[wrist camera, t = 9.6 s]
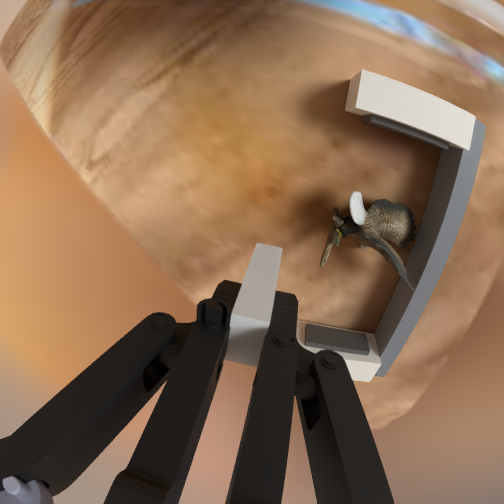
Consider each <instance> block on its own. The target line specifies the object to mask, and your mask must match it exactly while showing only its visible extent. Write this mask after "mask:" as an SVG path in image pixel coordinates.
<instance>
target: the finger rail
mask: <svg viewBox="0 0 504 504" xmlns="http://www.w3.org/2000/svg"><path fill="white" fill-rule="evenodd" d="M345 111H347V112H351V113H355V114H358V115H362V116H363V120H362V122H365V123H369V124H372V125H375V126H378V127H382V128H385V129H388V130H391V131H394V132H397V133H400V134H402V135H405V136H408V137H411V138H413V139H416V140H419V141H421V142H424V143H427V144H429V145H432V146H435V147H439V148H442V150H441V154H440V158H439V163H438V167H437V171H436V174H435V178H434V182H433V185H432V189H431V192H430V196H429V199H428V202H427V206H426V209H425V212H424V215H423V218H422V221H421V224H420V227H419V230H418V233H417V236H416V238H415V241H414V244H413V247H412V249H411V252H410V254H409V257H408V260H407V262H406V265H405V270H406V273H407V278H408V280H409V282H410V284H411V285H412V286H413V288H414V290H412V289H411V288H410V287H409V286H408V285H407V283H406V282H405V281H404V279H402V278H401V277H400V279H399V281H398V284H397V286H396V288H395V291H394V293H393V295H392V297H391V300H390V302H389V304H388V306H387V308H386V310H385V312H384V315H383V317H382V319H381V321H380V323H379V325H378V327H377V329H376V331H375V333H374V334H373V333H367V332H361V331H355V330H349V329H343V328H337V327H332V326H326V325H321V324H315V323H310V322H305V321H300V320H297V331H296V337H297V340H298V342H299V344H300V345H301V346H302V347H304V348H305V349H307V350H309V351H311V352H313V353H315V354H316V353H317V352H319V351H320V350H325V349H327V350H333V351H335V352H337V353H339V354H340V355H341V356H342V357H343V358H344V360H345V362H346V365H347V367H348V370H349V372H350V375H351V378H352V380H357V381H366V382H370V381H371V380H372V378H373V377H374V376H380V377H384V376H385V375H386V373H387V372H388V370H389V369H390V367H391V365H392V364H393V362H394V361H395V359H396V358H397V356H398V354H399V353H400V351H401V349H402V348H403V346H404V344H405V343H406V341H407V339H408V338H409V336H410V334H411V332H412V331H413V329H414V327H415V325H416V323H417V322H418V320H419V318H420V316H421V314H422V312H423V310H424V308H425V306H426V304H427V303H428V301H429V298H430V296H431V294H432V292H433V290H434V288H435V286H436V284H437V282H438V280H439V277H440V275H441V273H442V271H443V268H444V266H445V264H446V261H447V259H448V257H449V254H450V252H451V249H452V247H453V244H454V241H455V239H456V236H457V233H458V231H459V228H460V225H461V222H462V219H463V216H464V213H465V210H466V207H467V204H468V201H469V197H470V194H471V191H472V187H473V184H474V180H475V176H476V172H477V168H478V164H479V160H480V155H481V151H482V146H483V141H484V136H485V130H486V125H485V124H483V123H481V122H479V121H478V120H476V119H475V118H476V116H474V115H472V114H470V113H468V112H467V111H465V110H463V109H461V108H459V107H457V106H455V105H453V104H451V103H449V102H446V101H444V100H442V99H440V98H438V97H436V96H433V95H431V94H429V93H426V92H424V91H422V90H419V89H417V88H414V87H412V86H409V85H407V84H404V83H401V82H399V81H396V80H393V79H390V78H387V77H384V76H381V75H378V74H375V73H372V72H369V71H366V70H361V71H360V72H359V73H357V74H356V75H355V76H354V77H353V78H352V79H350V84H349V90H348V95H347V101H346V106H345Z"/></svg>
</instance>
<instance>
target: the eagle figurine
mask: <svg viewBox="0 0 504 504" xmlns="http://www.w3.org/2000/svg"><path fill="white" fill-rule="evenodd" d="M349 205H350V213H351V216H350V217H349V216H346V217H343V218H342V219H341V216H340V215H339V211H338V209H337V207H335V208H334V212H333V216H332V219H333V223H332V225H331V229H330V233H329V236H328V238H327V241H326V245H325V248H324V252H323V255H322V258H321V262H320V267H322V266H324V264H325V262H326V261H327V259H328V257H329V254H330V252H331V248H332V246H333V245H334V244H335V245H336V246H338V245H339V239H340V238H342V237H343V238H346V237H348V236H351V237H355V238H357V239H358V242H359V244H360V245H361V246H360V248H363V249H365V250H366V249H367V248H368V247H371V248H373V249H375V250H377V251H378V252H379V253H381V254H382V255H383V256H384V257H385V259H386V260H387V261H388V262H389V263H390V264H391V265H392V266H393V267H394V268H395V269H396V270H397V272H398V273H399V275H400V276H401V278H402V279H404V281H405V282H406V283H407V285H408V286H409V287H410V288H411V289H412V290H414V288H413V286H412V285H411V284H410V282H409V280H408V278H407V273H406V270H405V267H404V265H403V262H402V260H401V258H400V257H399V256H398V254H397V253H396V251H395V250H394V249H393V248H392V247H391V246H390V245H389V244H388V243H387V242H386V241H385V240H384V239H382V238H385V239H388V240H390V241H392V242H394V243H395V244H396V246H398V247H399V248H400V249H404V247H406V246H408V245H409V242H412V241H413V237H415V235H416V234H415V230H416V226H415V225H414V224H413V223H414V222H415V219H413V214H412V212H411V211H410V209H409V208H407V207H406V206H403V205H400V204H399V205H397V204H396V203H393V202H390V201H389V200H386V199H384V200H383V199H381V200H376V201H374V202H373V205H372V206H371V207H370V209H367V211H366V210H365V209H364V205H363V201H362V195H361V193H360V192H355V191H353V193H352V194H351V196H350V199H349ZM344 224H347V225H351V226H354V227H351V226H345V227H341V226H342V225H344Z"/></svg>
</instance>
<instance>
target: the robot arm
mask: <svg viewBox="0 0 504 504" xmlns="http://www.w3.org/2000/svg"><path fill="white" fill-rule="evenodd" d="M282 249H283V248H280V247H275V246H271V245H266V244H261V243H257V244H256V247H255V250H254V252H253V255H252V258H251V261H250V264H249V266H248V269H247V272H246V275H245V277H244V280H243V283H242V284H241V283H237V282H232V281H228V280H224V281H222V282H221V283H219V284H218V286H217V288H216V290H215V292H214V294H213V296H212V298H210V299H204V300H202V301H200V302H199V303H198V304H197V320H196V321H195V322H191V323H176V321H175V319H174V317H172V316H171V315H170V314H166V313H160V312H157V313H153V314H151V315H149V316H147V317H146V318H145V319H144V320H142V321H141V322H140V323H139V324H138V325H137V326H135V327H134V328H133V329H132V330H131V331H129V332H128V333H127V334H126V335H125V336H124V337H123V338H121V339H120V340H119V341H118V342H116V343H115V344H114V345H113V346H112V347H111V348H109V349H108V350H107V351H106V352H105V353H104V354H102V355H101V356H100V357H99V358H98V359H97V360H96V361H94V362H93V363H92V364H91V365H90V366H89V367H87V368H86V369H85V370H84V371H83V372H82V373H80V374H79V375H78V376H77V377H76V378H75V379H74V380H72V381H71V382H70V383H69V384H68V385H67V386H66V387H64V388H63V390H61V391H60V392H59V393H58V394H56V395H55V396H54V397H53V398H52V399H51V400H50V401H49V402H48V403H46V404H45V405H44V406H43V407H42V408H41V409H40V410H39V411H37V412H36V413H35V414H34V415H33V416H32V417H31V418H29V419H28V420H27V421H26V422H25V423H24V424H23V425H22V426H21V427H20V428H18V429H17V430H16V431H15V432H14V433H13V434H12V435H11V436H8V437H6V438H3V439H0V504H54V503H53V498H52V497H53V496H55V495H57V494H59V493H60V492H62V491H63V490H65V489H66V488H68V487H69V486H70V485H71V484H72V483H73V482H74V481H75V480H76V479H77V478H78V477H79V476H80V475H81V474H82V473H83V472H84V471H85V470H86V469H87V468H88V466H89V465H90V464H91V463H92V462H93V461H94V460H95V459H96V458H97V457H98V456H99V454H100V453H102V451H103V450H104V449H105V448H106V447H107V446H108V445H109V444H110V443H111V442H112V441H113V440H114V438H115V437H116V436H117V435H118V434H119V433H120V432H121V431H122V430H123V429H124V427H125V426H126V425H127V424H128V423H129V422H130V421H131V420H132V419H133V418H134V416H135V415H136V414H137V413H138V412H139V411H140V410H141V409H142V408H143V406H144V405H145V404H146V403H147V402H148V401H149V400H150V399H151V398H152V396H153V395H154V394H155V393H156V392H157V391H158V390H159V388H160V387H161V386H162V385H163V384H164V383H165V382H166V381H167V382H166V385H165V386H164V389H163V391H162V393H161V395H160V397H159V399H158V401H157V403H156V405H155V408H154V410H153V412H152V414H151V416H150V418H149V420H148V423H147V425H146V427H145V429H144V431H143V433H142V435H141V438H140V440H139V442H138V444H137V446H136V449H135V451H134V453H133V455H132V457H131V460H130V462H129V464H128V466H127V468H126V469H125V470H123V471H121V472H120V473H119V474H118V475H117V476H116V478H115V480H114V482H113V484H112V486H111V488H110V490H109V492H108V495H107V497H106V499H105V501H104V504H178V503H179V500H180V497H181V494H182V491H183V487H184V485H185V481H186V478H187V475H188V472H189V470H190V467H191V463H192V460H193V457H194V454H195V451H196V448H197V445H198V442H199V439H200V436H201V433H202V430H203V427H204V424H205V421H206V418H207V414H208V412H209V408H210V405H211V402H212V399H213V396H214V393H215V390H216V387H217V384H218V381H219V378H220V374H221V371H222V367H223V361H224V358H225V360H229V361H233V362H237V363H241V364H246V365H251V366H255V367H258V368H257V372H256V375H255V379H254V382H253V389H252V393H251V398H250V402H249V407H248V411H247V415H246V420H245V424H244V429H243V433H242V438H241V441H240V446H239V450H238V454H237V458H236V463H235V466H234V471H233V474H232V479H231V482H230V486H229V490H228V494H227V498H226V502H225V504H281V501H282V494H283V487H284V480H285V473H286V466H287V458H288V449H289V441H290V432H291V423H292V414H293V403H294V396H296V400H297V404H298V410H299V414H300V419H301V424H302V429H303V434H304V439H305V444H306V449H307V453H308V458H309V464H310V468H311V474H312V479H313V484H314V488H315V494H316V499H317V504H394V500H393V497H392V494H391V491H390V487H389V484H388V481H387V478H386V475H385V471H384V468H383V465H382V462H381V459H380V456H379V453H378V450H377V447H376V444H375V441H374V438H373V436H372V433H371V430H370V427H369V424H368V421H367V418H366V416H365V413H364V410H363V407H362V404H361V402H360V399H359V396H358V394H357V391H356V388H355V386H354V383H353V380H352V378H351V375H350V372H349V370H348V367H347V365H346V362H345V360H344V358H343V357H342V356H341V355H340V354H339V353H337V352H335V351H333V350H327V349H325V350H320V351H319V352H317V353H316V354H315V353H313V352H311V351H309V350H307V349H305V348H304V347H302V346H301V345H300V344H299V342H298V340H297V337H296V331H297V314H298V300H297V298H296V296H295V294H290V293H285V292H281V291H276V286H277V280H278V274H279V268H280V262H281V255H282Z"/></svg>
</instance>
